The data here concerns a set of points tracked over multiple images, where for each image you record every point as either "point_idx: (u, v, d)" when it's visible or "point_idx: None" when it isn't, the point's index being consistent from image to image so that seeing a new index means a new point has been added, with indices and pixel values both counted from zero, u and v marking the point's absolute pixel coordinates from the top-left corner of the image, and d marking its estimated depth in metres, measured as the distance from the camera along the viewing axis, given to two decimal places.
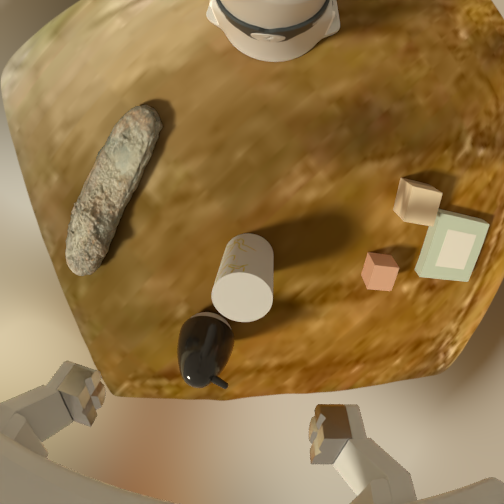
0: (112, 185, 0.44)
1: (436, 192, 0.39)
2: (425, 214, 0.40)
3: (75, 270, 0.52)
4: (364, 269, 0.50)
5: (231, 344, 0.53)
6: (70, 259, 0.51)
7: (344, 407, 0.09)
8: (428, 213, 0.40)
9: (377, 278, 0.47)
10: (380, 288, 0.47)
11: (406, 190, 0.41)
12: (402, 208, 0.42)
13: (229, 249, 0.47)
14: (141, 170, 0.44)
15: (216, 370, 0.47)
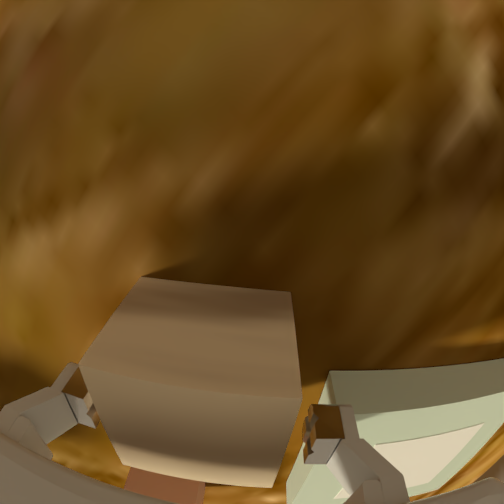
0: None
1: (252, 397, 0.06)
2: (211, 465, 0.08)
3: None
4: None
5: None
6: None
7: (337, 407, 0.09)
8: (226, 461, 0.08)
9: None
10: None
11: None
12: None
13: None
14: None
15: None
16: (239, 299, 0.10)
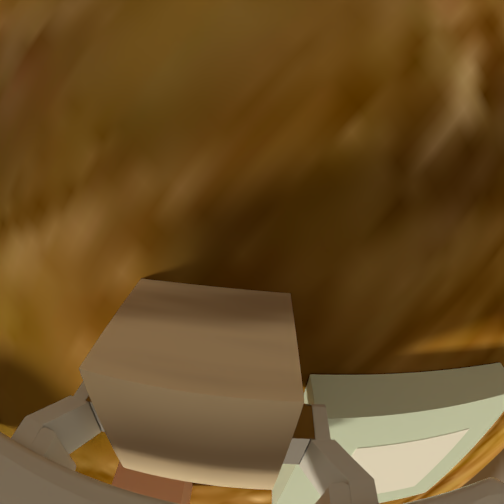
0: None
1: (254, 401, 0.06)
2: (212, 467, 0.08)
3: None
4: None
5: None
6: None
7: (310, 406, 0.09)
8: (227, 464, 0.08)
9: None
10: None
11: None
12: None
13: None
14: None
15: None
16: (239, 302, 0.10)
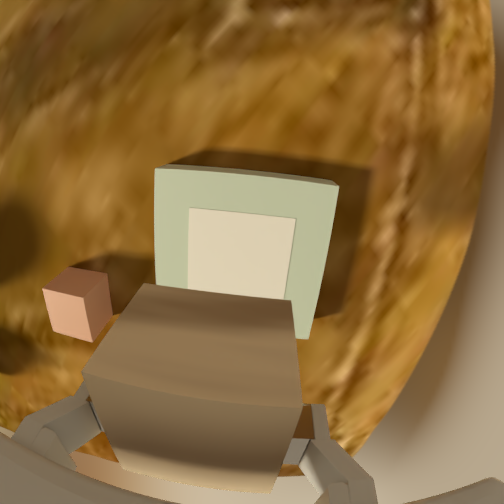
0: None
1: (253, 406, 0.07)
2: (211, 471, 0.08)
3: None
4: None
5: None
6: None
7: (309, 406, 0.09)
8: (226, 468, 0.08)
9: (57, 314, 0.22)
10: (72, 334, 0.23)
11: None
12: None
13: None
14: None
15: None
16: (240, 308, 0.10)
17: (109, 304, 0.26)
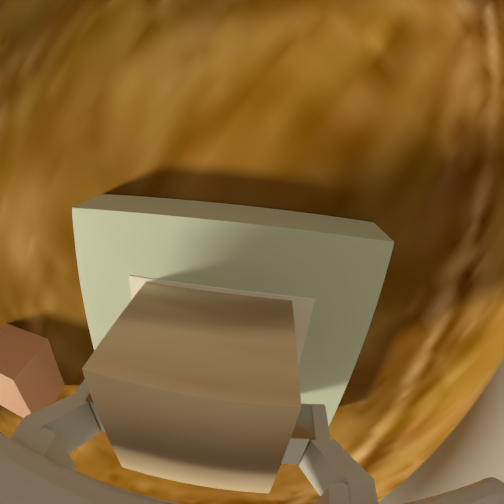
0: None
1: (252, 405, 0.07)
2: (209, 469, 0.08)
3: None
4: None
5: None
6: None
7: (309, 406, 0.09)
8: (224, 467, 0.08)
9: None
10: (15, 411, 0.14)
11: None
12: None
13: None
14: None
15: None
16: (241, 308, 0.10)
17: (57, 374, 0.17)
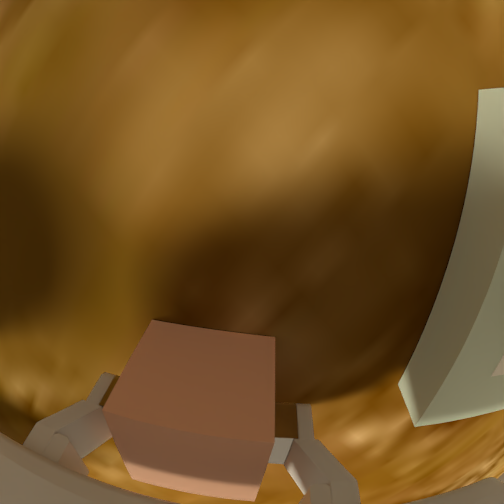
0: None
1: None
2: None
3: None
4: None
5: None
6: None
7: (294, 406, 0.09)
8: None
9: (154, 462, 0.07)
10: (193, 490, 0.08)
11: None
12: None
13: None
14: None
15: None
16: None
17: None
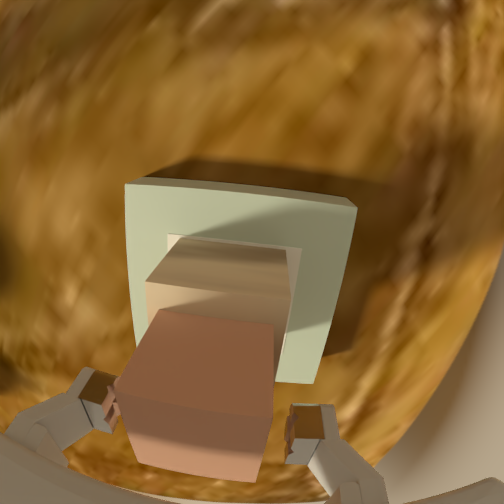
0: None
1: (259, 298, 0.11)
2: None
3: None
4: None
5: None
6: None
7: (319, 407, 0.09)
8: None
9: (160, 442, 0.08)
10: (197, 471, 0.09)
11: None
12: None
13: None
14: None
15: None
16: (250, 252, 0.15)
17: None
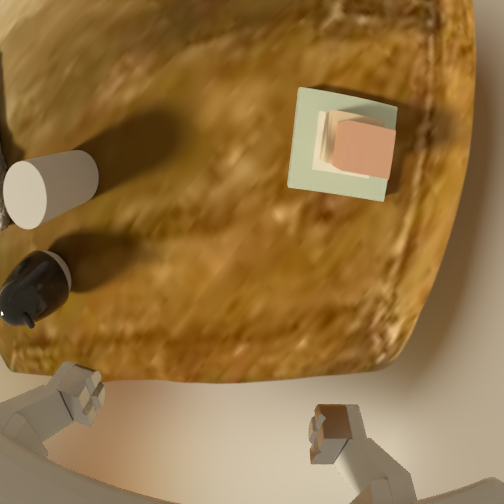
0: None
1: (374, 119, 0.27)
2: None
3: None
4: (335, 151, 0.28)
5: (57, 284, 0.39)
6: None
7: (344, 407, 0.09)
8: None
9: (358, 148, 0.24)
10: (367, 171, 0.25)
11: (329, 121, 0.29)
12: (326, 148, 0.30)
13: None
14: None
15: (25, 304, 0.33)
16: None
17: None
